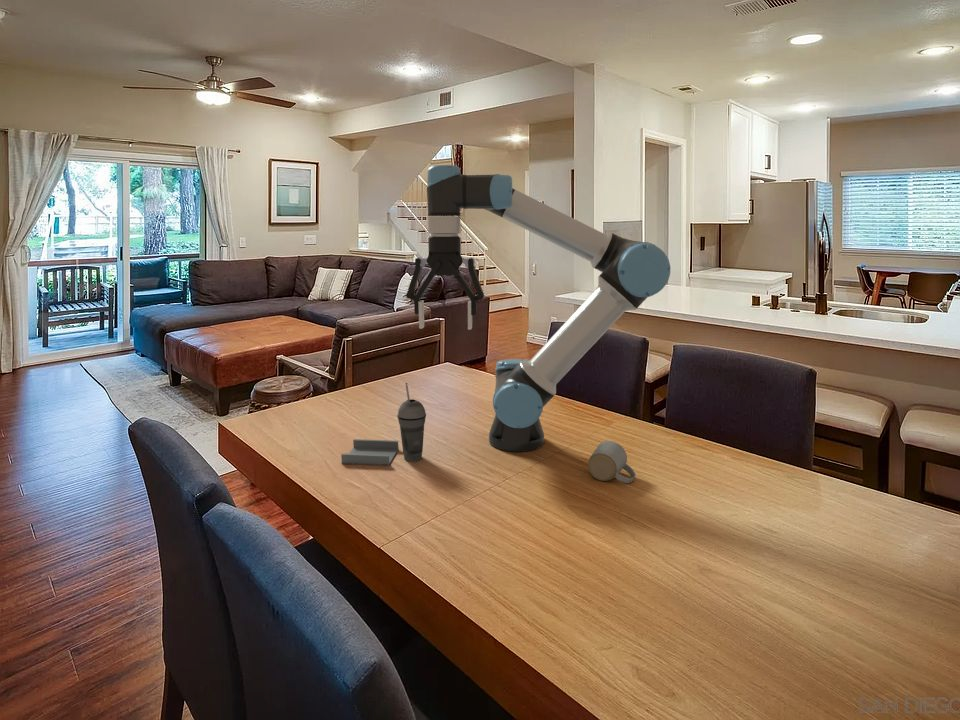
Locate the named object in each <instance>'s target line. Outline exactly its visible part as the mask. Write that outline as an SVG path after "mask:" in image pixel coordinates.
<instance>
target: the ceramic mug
mask: <svg viewBox="0 0 960 720" xmlns="http://www.w3.org/2000/svg"><path fill="white" fill-rule="evenodd" d="M627 462H628V455H627V452H626V450H625V448H624V447H623V446H622V445H621V444H619V443H618V442H616V441H613V440H605V441H602V442H601V443H599V444H598V446H597V447H596V449H594V451H593V453H592V454H591V455H590V457H589V460H588V464H587V467H588V471H589V473H590V475H592V477H594V478H595V479H596V480H598V481H602V482H609V481H611V480H612V479H616V480H618V481H619V482H621V483H624V484H631V483H633V482H634V480H635V479H636V474H637V473H636V472H635V471H634V469H633V468H632V467H631V466H630V465H629V464H628V463H627ZM622 470H624V471H625V472H627V473H628V474H629V476H630V477H626V476H624V475H622V474H620V472H621V471H622ZM632 481H633V482H632ZM630 482H631V483H630Z"/></svg>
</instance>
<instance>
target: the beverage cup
mask: <svg viewBox="0 0 960 720" xmlns="http://www.w3.org/2000/svg"><path fill="white" fill-rule="evenodd" d="M404 385H405V390H406V397H407V398H406V399H407V400H405V401H403V402H402V403H401V404H400V406H399V408H398V411H397V420H398V424H399V431H400V438H401V446H402V454H403V459H404V460H405V461H406V462H408V463H409V462H410V463H411V462H414V463H415V462H420V461H421V460H422V456H423V451H424V450H423V449H424V434H425V423H426V417H427V414H426V408H425V407H424V405H423V404H422V403H421V402H420V401H418V400H417V399H412V398H411V399H410V392H409V387H408V386H409V385H408V382H405V384H404Z"/></svg>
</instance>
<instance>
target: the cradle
mask: <svg viewBox="0 0 960 720" xmlns="http://www.w3.org/2000/svg"><path fill="white" fill-rule="evenodd" d="M352 441H353V443H352V444H353V448H352V449H351V450H350V451H349V453H341V454H340V457H341V458H340V459H341V464H342V465H358V466H359V465H363V466H384V467H385V466H387V467H389V466H390V465H391V464H392V463H391V462H393V460H394V458H395V457H396V454H397V452H398V451H399V446H400V445H399V440H394V439H393V440H392V439H388V440H387V439H386V440H385V439H366V438H354V439H352Z"/></svg>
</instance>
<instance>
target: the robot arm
mask: <svg viewBox="0 0 960 720" xmlns="http://www.w3.org/2000/svg"><path fill="white" fill-rule="evenodd" d="M426 182H427V185H426V194H427V195H426V197H427V199H426V200H427V234H429V235H430V236H429V237H428V245H427V246H428V256H427V258H423V257H416V258H415V260H414V263H415V264H414V265H415V266H414V268H415V269H414V271H413V274H412V276H411V280H410V282H409V287H408V289H407V292H406V295H405V298H406V299H410V300H411V301H413V305H414V306H413V307H414V314H415V315H418V328H419V329H421V330H422V329H424V328H425V302H424V301H425V300H422V299H421V298H422V297H423V296H424V294H425V292H426V291H427V289H428V288H429V286H430V284H431V283H432V281H433V280H434V279H435V278H436V276H438V277H442V276H446V277H454V278H455V279H456V281H457V282H458V284H459V285H460V286H461V288H462V289H463V291H464V292H465V294H466V295H467V297H468V299H470V300H468V301H467V330H468V331H469V330H472V328H473V316H476V315H477V312H478V311H477V309H478V307H477V305H478V303H477V302H478V301H480V300H483V299H484V297H485V293H484V290H483V288H482V286H481V283H480V280H479V276H478V273H477V271H476V269H475V259H474V258H473V257H469V258H463V257H462V253H461V249H462V245H461V244H462V243H461V242H462V241H461V240H462V239H461V236H459V234H461V209H462V210H463V209H464V210H467V209H468V210H473V209H474V210H486V211H488V212H490V213H492V214H494V215H496V216H498V217H500V218H503V219H505V220H506V221H508V222H511V223H513V224H515V225H516V226H518V227H520V228H522V229H524V230H526V231H528V232H530V233H533V234H534V235H537V236H539V237H541V238H543V239H545V240H547V241H548V242H550V243H553V244H555V245H556V246H558V247H560V248H562V249H565V250H566V251H567V252H568V251H569V252H570V253H572V254H575V255H576V256H579V257H580V258H582V259H585V260H587V261H588V262H590V265H591V267H592V268H593V269H595V270H597V271H599V272H601V273H600V274H599V275H598V278H597V279H598V283H597V284H598V285H597V287H596V288H595V289H594V290H593V291H592V293H591V294H590V295H589V296H588V297H587V298H586V299H585V300H584V301H583V302H582V304H580V306H579V307H578V308H577V309H576V310H575V311H574V312H573V313H572V315H570V317H568V318H567V320H565V322H564V323H563V324H562V325H561V326H560V327H559V328H558V329H557V331H556V332H554V334H553V335H552V336H551V337H550V338H549V339H548V340H547V341H546V342H545V344H544V345H543V346H542V347H541V348H540V349H539V350H538V351H537V352H536V353H535V355H534V356H532V358H531V359H520V358H513V359H511V358H510V359H509V358H508V359H501V360H498V361H497V362H496V364H495V365H496V366H495V370H494V372H495V388H494V394H493V398H492V407H493V409H494V413H495V415H494V418H493V421H492V423H491V427H490V429H489V433H488V442H489V444H490V446H492V447H494V448H496V449H499V450H501V451H506V452H507V451H508V452H518V453H521V452H530V451H534V450H538V449H540V448H541V447H542V446H543V445H544V444H545V432H544V430H543V427H542V426H543V425H542V424H541V419H540V417H541V415H542V413H543V409H544V407H545V406H547V404H548V402H550V401H551V399H553V397H555V396H556V394H557V384H558V383H559V382H560V381H561V380H562V379H563V378H564V377H565V376H566V375H567V374H568V372H570V370H572V368H573V367H574V366H575V365H576V364H577V363H578V362H579V361H580V360H581V359H582V358H583V357H584V356H585V354H586V353H587V352H588V351H589V350H590V349H591V348H592V347H593V346H595V344H596V343H597V342H598V341H599V340H600V339H601V337H603V335H605V333H606V332H607V331H608V330H609V329H610V328H611V327H612V326H613V325H614V324H615V322H617V320H619V319H620V318H621V316H623V314H624V313H625V312H628V311H636V310H637V309H638V308H639V307H640V306H641V305H642V304H643V303H644V301H646V300H647V299H648V298H649V297H653V296H654V295H656V294H658V293H659V292H661V291H662V290H663V289H664V288H665V287H666V285H667V283H668V282H669V279H670V277H671V263H670V259H669V258H668V256H667V254H666V253H665V252H664V250H662V249H661V247H658V246H657V245H656V244H653V243H651V242H648V241H638V240H632V239H628V238H625V237H621V236H620V235H617V234H615V233H613V232H611V231H610V232H607V233H603V232H602V231H599V230H597V229H595V228H593V227H591V226H590V225H588V224H586V223H583V222H581V221H579V220H577V219H575V218H574V217H571V216H570V215H568V214H566V213H563V212H561V211H560V210H558V209H555V208H553V207H552V206H550V205H547V204H545V203H543V202H541V201H539V200H537V199H535V198H533V197H532V196H530V195H527V194H525V193H523V192H521V191H519V190H518V189H515V188H513V177H512V175H509V174H499V173H495V174H462V173H461V169H460V167H459V166H458V165H453V164H452V165H451V164H450V165H449V164H438V165H437V164H436V165H432V166H430V167H429V168H428V169H427V181H426ZM426 264H427V265H428V267H430V271H429V273H428V275H427V276H426V278H425V279H424V281H423V283H422V284H421V286H420V288H419V289H418V290H417V292H416V293H415V291H416V288H417V285H418V282H419V279H420V277H421V274H422V270H423V268H425V265H426ZM463 264H464V267H465V268H468V273H469V276H470V279H471V280H472V281H471V282H472V283H473V287H474V289H475V292H476V294H475V292H474V291H473V290H472V288H471V286H470V285H469V284H468V281H467V280H466V279H465V277H464V276H463V274H462V272H461V271H460V270H459V268H461V266H462V265H463ZM419 329H418V330H419Z"/></svg>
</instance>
